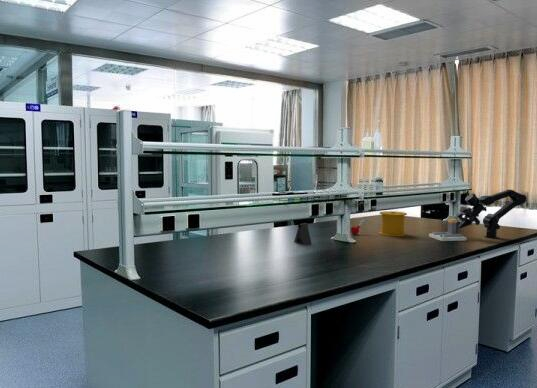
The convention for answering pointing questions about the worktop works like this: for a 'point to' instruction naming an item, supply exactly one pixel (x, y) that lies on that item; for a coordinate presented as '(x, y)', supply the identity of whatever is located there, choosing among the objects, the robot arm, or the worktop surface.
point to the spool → (392, 223)
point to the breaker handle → (451, 226)
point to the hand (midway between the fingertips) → (459, 227)
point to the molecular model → (356, 229)
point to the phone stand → (303, 234)
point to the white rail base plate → (447, 236)
